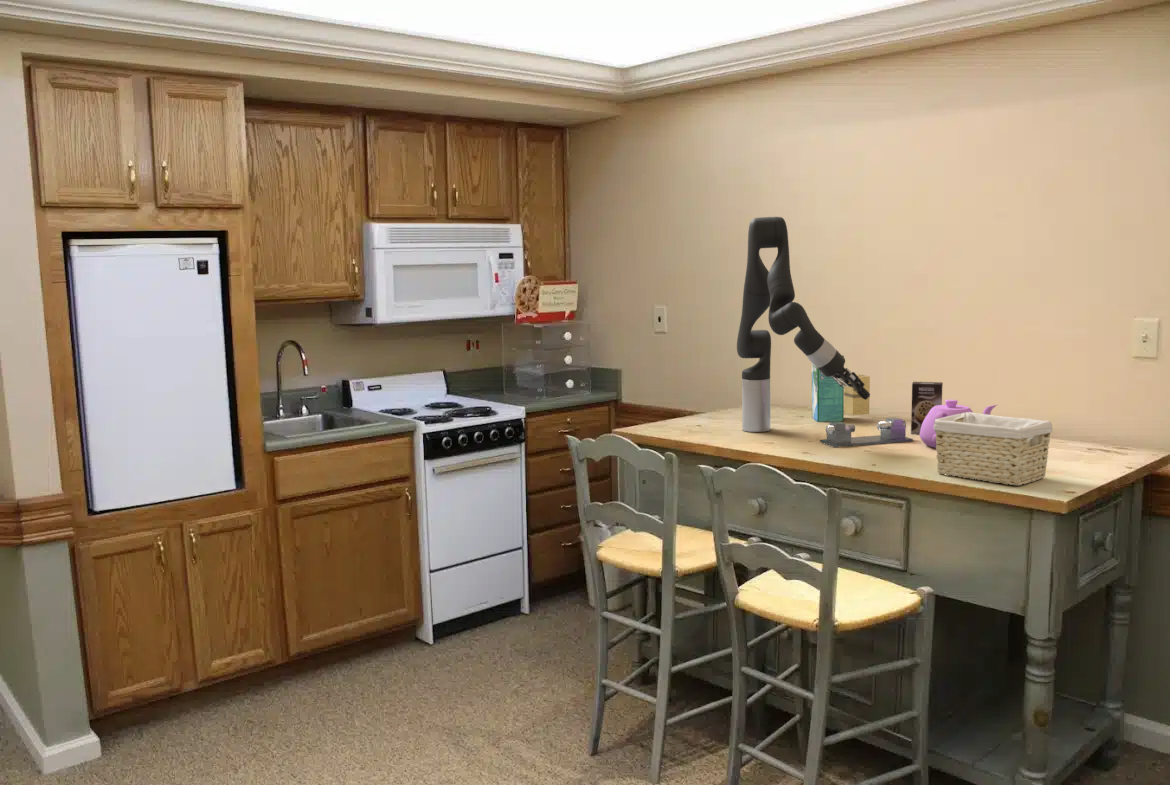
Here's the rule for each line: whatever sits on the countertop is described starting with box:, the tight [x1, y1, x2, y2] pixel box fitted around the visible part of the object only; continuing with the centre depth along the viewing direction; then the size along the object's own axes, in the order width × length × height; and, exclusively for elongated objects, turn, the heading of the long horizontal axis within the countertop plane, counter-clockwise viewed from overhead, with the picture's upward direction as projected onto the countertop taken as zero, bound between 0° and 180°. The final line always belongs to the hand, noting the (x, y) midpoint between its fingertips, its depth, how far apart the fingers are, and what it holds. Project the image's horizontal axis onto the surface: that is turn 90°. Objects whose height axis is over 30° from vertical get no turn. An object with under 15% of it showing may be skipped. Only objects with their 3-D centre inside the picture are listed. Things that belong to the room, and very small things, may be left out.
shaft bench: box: [819, 416, 914, 448], centre depth 291 cm, size 26×9×7 cm, turn 102°
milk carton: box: [811, 349, 845, 423], centre depth 332 cm, size 9×9×25 cm
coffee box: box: [910, 381, 944, 435], centre depth 302 cm, size 9×6×16 cm
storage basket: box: [934, 412, 1053, 486], centre depth 240 cm, size 24×16×15 cm
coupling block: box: [844, 374, 871, 416], centre depth 278 cm, size 5×5×11 cm
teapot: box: [919, 399, 998, 449], centre depth 278 cm, size 22×22×14 cm
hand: (862, 395), depth 279 cm, fingers closed on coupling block, 5 cm apart
